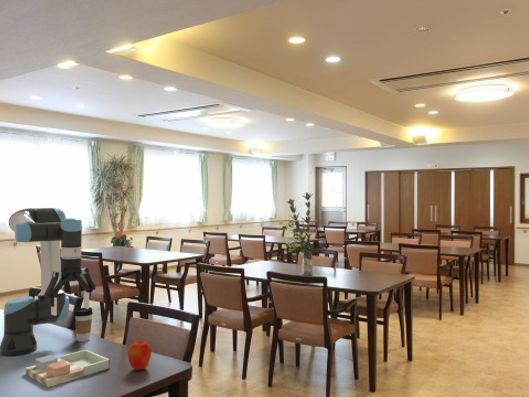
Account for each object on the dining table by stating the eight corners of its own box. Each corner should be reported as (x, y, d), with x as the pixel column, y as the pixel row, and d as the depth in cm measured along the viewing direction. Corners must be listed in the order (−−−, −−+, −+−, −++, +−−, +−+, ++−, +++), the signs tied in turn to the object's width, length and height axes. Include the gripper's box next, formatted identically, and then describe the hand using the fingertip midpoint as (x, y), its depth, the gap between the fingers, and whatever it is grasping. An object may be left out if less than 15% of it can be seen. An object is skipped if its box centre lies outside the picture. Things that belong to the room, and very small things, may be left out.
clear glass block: (35, 366, 181) (35, 359, 181) (50, 362, 185) (50, 355, 185) (42, 370, 177) (42, 362, 177) (57, 366, 181) (57, 358, 181)
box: (60, 364, 190) (60, 356, 190) (85, 357, 198) (85, 349, 198) (84, 376, 178) (84, 367, 178) (109, 368, 186) (109, 359, 186)
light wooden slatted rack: (25, 374, 179) (25, 367, 179) (60, 364, 190) (60, 358, 190) (48, 387, 167) (48, 380, 167) (84, 376, 178) (84, 369, 178)
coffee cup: (96, 338, 225) (96, 308, 225) (81, 343, 218) (81, 311, 218) (85, 336, 229) (85, 306, 229) (70, 340, 222) (70, 309, 222)
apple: (122, 370, 184) (122, 340, 184) (140, 364, 191) (140, 335, 191) (138, 375, 178) (138, 344, 178) (155, 368, 186) (156, 339, 186)
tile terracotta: (46, 372, 174) (47, 365, 174) (62, 368, 179) (62, 360, 179) (54, 376, 170) (54, 368, 170) (70, 372, 175) (70, 364, 175)
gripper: (44, 261, 168) (44, 319, 168) (104, 255, 188) (104, 307, 188) (34, 260, 173) (34, 316, 173) (94, 253, 193) (93, 304, 193)
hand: (70, 311), depth 181 cm, fingers open, 13 cm apart
